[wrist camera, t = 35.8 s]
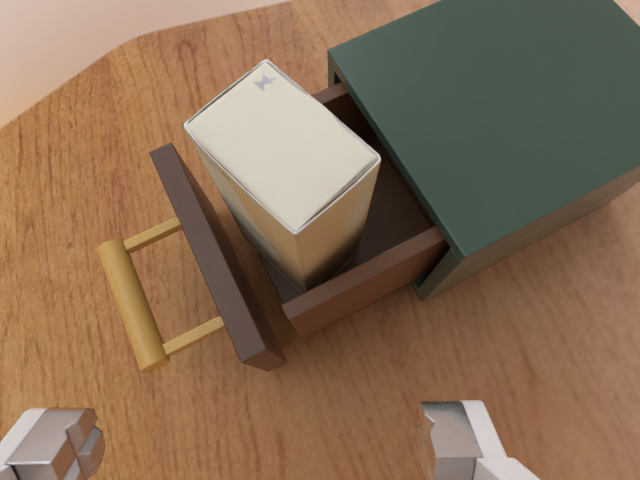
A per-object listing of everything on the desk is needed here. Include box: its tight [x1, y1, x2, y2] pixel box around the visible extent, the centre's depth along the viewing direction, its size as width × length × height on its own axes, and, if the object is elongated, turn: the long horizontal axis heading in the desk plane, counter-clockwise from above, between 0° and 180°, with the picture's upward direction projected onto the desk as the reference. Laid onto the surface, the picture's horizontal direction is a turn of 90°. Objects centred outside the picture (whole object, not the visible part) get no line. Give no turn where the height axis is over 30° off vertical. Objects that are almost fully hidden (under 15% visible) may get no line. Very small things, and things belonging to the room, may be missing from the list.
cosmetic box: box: [184, 60, 381, 294], centre depth 21 cm, size 6×4×12 cm
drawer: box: [97, 82, 451, 373], centre depth 24 cm, size 18×11×8 cm, turn 117°
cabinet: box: [328, 0, 640, 302], centre depth 26 cm, size 15×13×10 cm
